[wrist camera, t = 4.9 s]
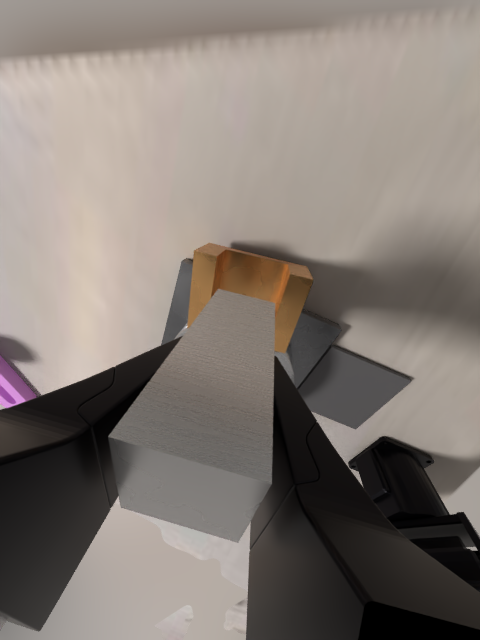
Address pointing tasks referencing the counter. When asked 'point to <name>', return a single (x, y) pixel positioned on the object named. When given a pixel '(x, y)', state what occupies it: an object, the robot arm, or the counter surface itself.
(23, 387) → the bracket
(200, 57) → the counter surface
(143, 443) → the gray rectangular block
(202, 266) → the oval metal lid
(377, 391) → the mat
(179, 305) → the base plate
